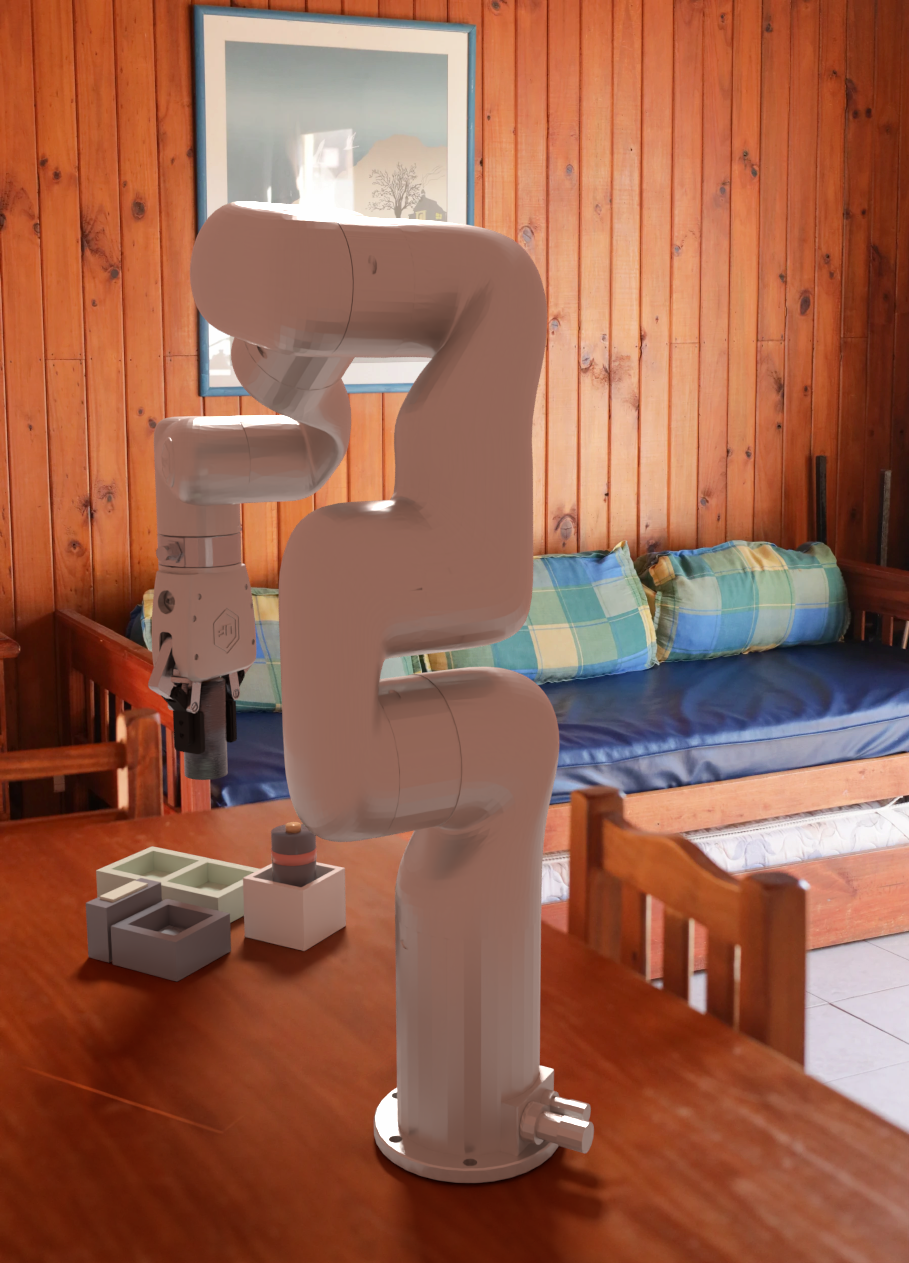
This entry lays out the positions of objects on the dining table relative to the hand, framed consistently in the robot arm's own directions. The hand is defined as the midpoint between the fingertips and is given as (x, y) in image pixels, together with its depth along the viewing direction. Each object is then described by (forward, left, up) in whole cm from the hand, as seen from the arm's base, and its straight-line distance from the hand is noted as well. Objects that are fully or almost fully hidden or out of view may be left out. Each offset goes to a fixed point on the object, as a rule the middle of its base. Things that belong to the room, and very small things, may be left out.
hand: (205, 744), depth 127 cm
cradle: (-3, +11, -16) cm, 20 cm away
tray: (+3, 0, -16) cm, 16 cm away
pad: (-5, +11, -17) cm, 21 cm away
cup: (-11, +1, -16) cm, 19 cm away
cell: (0, 0, -3) cm, 3 cm away
